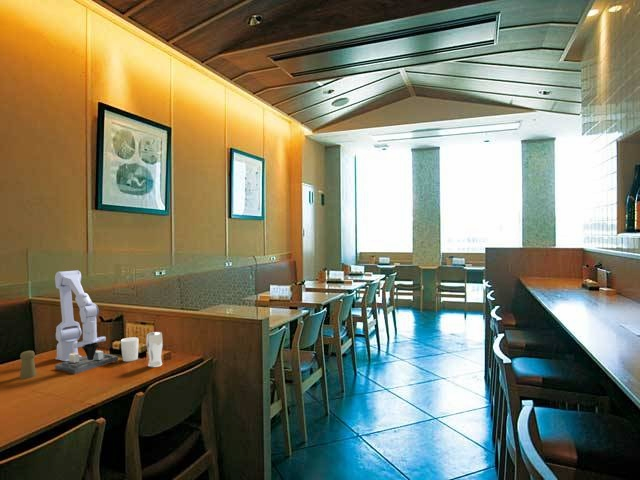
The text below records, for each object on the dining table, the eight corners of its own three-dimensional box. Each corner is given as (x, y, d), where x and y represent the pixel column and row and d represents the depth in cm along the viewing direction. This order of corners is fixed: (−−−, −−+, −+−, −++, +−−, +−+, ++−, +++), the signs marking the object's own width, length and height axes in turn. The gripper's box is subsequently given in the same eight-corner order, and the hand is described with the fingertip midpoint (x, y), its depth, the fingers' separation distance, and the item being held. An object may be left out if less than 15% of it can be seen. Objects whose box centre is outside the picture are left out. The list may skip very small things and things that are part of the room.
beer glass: (166, 363, 190) (165, 331, 190) (158, 368, 183) (157, 335, 183) (152, 362, 191) (151, 331, 191) (144, 367, 184) (143, 335, 184)
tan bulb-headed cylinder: (27, 379, 172) (26, 353, 172) (16, 378, 174) (15, 353, 173) (40, 374, 178) (39, 349, 178) (28, 373, 179) (28, 349, 179)
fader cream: (69, 361, 188) (68, 353, 188) (74, 360, 190) (74, 352, 190) (74, 362, 186) (73, 354, 186) (79, 361, 188) (79, 353, 188)
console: (55, 369, 184) (55, 363, 184) (98, 356, 203) (98, 350, 203) (74, 374, 177) (74, 367, 177) (117, 360, 196) (117, 354, 196)
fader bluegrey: (93, 359, 191) (93, 351, 191) (98, 357, 193) (97, 349, 193) (98, 360, 189) (98, 352, 189) (103, 358, 191) (103, 351, 191)
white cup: (134, 361, 193) (133, 341, 193) (118, 362, 193) (117, 341, 193) (141, 356, 201) (141, 337, 201) (126, 357, 201) (125, 337, 201)
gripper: (79, 335, 179) (80, 365, 180) (109, 328, 192) (110, 356, 193) (70, 333, 183) (71, 363, 183) (100, 326, 196) (101, 354, 196)
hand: (90, 359), depth 188 cm, fingers closed
